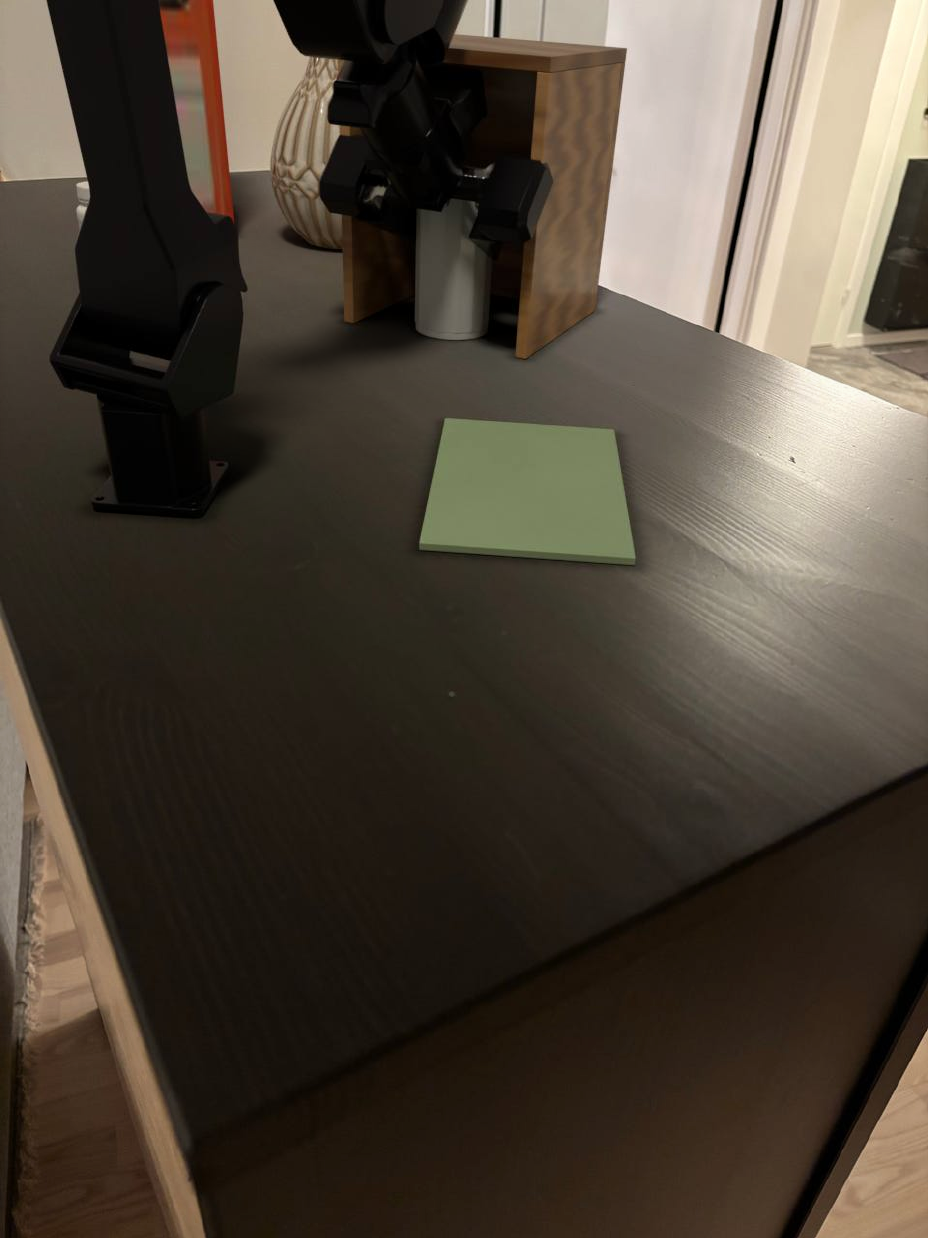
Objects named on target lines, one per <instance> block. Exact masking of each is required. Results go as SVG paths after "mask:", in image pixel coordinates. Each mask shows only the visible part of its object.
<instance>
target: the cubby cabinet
mask: <svg viewBox="0 0 928 1238" xmlns="http://www.w3.org/2000/svg"><path fill="white" fill-rule="evenodd" d="M627 53H628V48H627V47H618V46H617V47H616V46H605V45H594V44H593V45H592V44H591V45H590V44H581V43H567V42H556V41H543V40H532V39H531V40H530V39H521V38H520V39H519V38H507V37H495V36H494V37H493V36H484V35H483V36H482V35H471V34H458V33H455V34H454V36H453V39H452V41H451V43H450V46H449V48H448V51H447V53H446V56H445V58H444V60H443V62H438V63H435V64H430V65H423V66H421V68H422V67H429V68H433V67H436V66H449V67H460V68H470V69H478V70H480V71H481V72H482V73H483V81H484V88H485V96H486V104H487V111H488V113H487V116H486V117H485V118H484V119H482V120H481V121H480V122H479V124H478V125H477V126H476V128H475V129H474V130H473V132H472V133H471V134H470V137H471V139H472V142H473V144H474V148H473V150H472V152H471V155H470V157H469V159H464V158H463V160H462V163H461V164H462V166H472V167H480V168H485V169H486V168H487V167H488V166H489V165H491V164H494V163H495V161H496V159H497V156H498V155H501V154H513V155H521V156H529V157H531V159H535V160H540V161H541V163H546V162H547V164H548V166H549V168H550V171H551V175H552V178H553V181H554V182H553V185H552V187H551V190H550V193H549V195H548V198H547V200H546V203H545V205H544V208H543V211H542V213H541V216H540V218H539V221H538V223H537V226H536V229H535V231H534V234H533V236H532V239H530V240H529V241H527V242H525V243H524V244H519V243H513V242H506V241H504V242H502V247H501V252H500V255H499V257H498V259H497V260H492V277H491V293H490V295H492V296H493V295H494V296H499V297H504V298H508V299H509V298H510V299H515V300H519V304H518V318H517V319H518V320H517V331H516V345H515V358H518V359H522V360H523V359H524V360H526V359H528V358H530V357H532V355H534V354H535V353H536V352H538V351H540V350H541V349H543V348H544V347H545V346H547V345H548V344H549V343H551V342H552V341H554V340H555V339H556V338H558V337H559V336H561V335H563V334H564V333H565V332H566V331H568V330H569V329H571V328H572V327H574V326H575V325H576V324H578V323H580V322H581V321H582V320H584V319H585V318H586V317H588V316H589V315H590V314H592V313H593V312H595V311H596V306H597V299H598V292H599V291H598V290H599V283H600V274H601V265H602V257H603V248H604V240H605V233H606V224H607V216H608V210H609V209H608V208H609V202H610V201H609V200H610V191H611V183H612V175H613V167H614V158H615V150H616V142H617V134H618V126H619V118H620V110H621V102H622V93H623V87H624V86H623V84H624V78H625V77H624V76H625V71H626V60H627ZM343 61H344V60H338V73H339V70H340V68H341V66H342V63H343ZM339 128H340V135H348V136H351V135H363V134H362V132H361V130H360V128H356V127H348V126H340V125H339ZM342 247H343V250H342V280H343V281H342V282H343V312H344V313H343V321H344V323H345V322H346V323H350V324H355V323H357V322H359V321H361V320H363V319H365V318H368V317H370V316H372V315H374V314H376V313H378V312H381V311H382V310H386V309H387V308H389V307H391V306H393V305H395V304H398V303H399V302H402V301H404V300H406V299H408V298H410V297H413V296H415V277H416V245H415V244H413V243H411V242H409V241H407V240H405V239H402V238H400V237H398V236H396V235H394V234H391V233H389V232H387V231H384V230H382V229H379V228H377V227H375V226H372V225H370V224H367V223H365V222H361V221H358V220H356V219H355V217H353V216H346V215H342Z"/></svg>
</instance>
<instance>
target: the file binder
mask: <svg viewBox="0 0 928 1238" xmlns="http://www.w3.org/2000/svg"><path fill="white" fill-rule="evenodd" d="M158 1H159V7H160V13H161V19H162V25H163V31H164V37H165V43H166V49H167V55H168V61H169V67H170V73H171V79H172V85H173V91H174V97H175V103H176V109H177V115H178V121H179V127H180V133H181V139H182V145H183V151H184V157H185V163H186V169H187V175H188V180H189V184H190V187H191V190H192V192H193V193H194V195H195V196H196V198H197V199H198V201H199V202H200V204H201V205H202V206H203V208H204V209H205V211H206V212H209V213H215V214H221V215H226V216H230V217H231V218H232V220H233V222H234V223H235V217H234V216H235V215H234V205H233V195H232V184H231V175H230V174H231V173H230V164H229V154H228V153H229V151H228V143H227V134H226V133H227V132H226V123H225V122H226V121H225V110H224V102H223V90H222V89H223V88H222V80H221V69H220V59H219V47H218V38H217V27H216V16H215V7H214V6H215V5H214V0H158Z"/></svg>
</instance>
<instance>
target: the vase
mask: <svg viewBox="0 0 928 1238" xmlns="http://www.w3.org/2000/svg"><path fill="white" fill-rule="evenodd" d="M306 65H307V66H306V69H305V72H304V74H303V75H302V78H301V80H300V81H299V83H298V84H297V85H296V87H295V89H294V90H293V92H292V94H291V96H290V97H289V99H288V101H287V103H286V105H285V107H284V109H283V111H282V113H281V116H280V118H279V120H278V123H277V126H276V128H275V133H274V137H273V141H272V147H271V153H270V159H269V160H270V162H269V163H270V164H269V170H270V171H269V172H270V180H271V185H272V190H273V194H274V198H275V200H276V203H277V205H278V208H279V210H280V212H281V214H282V216H283V217H284V219H285V220H286V222H287V224H288V225H289V226H290V227H291V228H292V229H293V231H295V233H296V234H298V236H300V237H301V238H302V239H303V240H304V241H306V242H307V243H308V244H310V245H312V246H315V247H319V248H323V249H329V250H330V249H331V250H342V251H343V247H342V215H340V214H334V213H330V212H329V211H328V209H327V208H326V206H325V205H324V203H323V202H322V200H321V199H320V196H319V194H318V182H319V179H320V177H321V175H322V172H323V170H324V168H325V165H326V163H327V160H328V158H329V156H330V153H331V151H332V149H333V146H334V144H335V142H336V140H337V138H338V137H339V135H340V128H339V125H332V124H330V123H329V122H328V119H327V115H328V104H329V102H330V99H331V97H332V95H333V83H334V81H335V80H336V78H337V75H338V60H335V59H325V58H315V57H309V58H308V62H307V64H306Z"/></svg>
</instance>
